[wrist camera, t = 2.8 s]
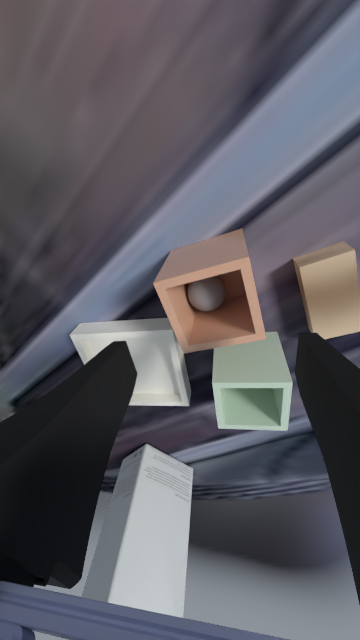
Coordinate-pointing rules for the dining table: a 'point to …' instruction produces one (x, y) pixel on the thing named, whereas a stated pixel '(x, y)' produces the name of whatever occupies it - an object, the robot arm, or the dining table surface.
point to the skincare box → (145, 536)
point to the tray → (142, 357)
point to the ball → (207, 293)
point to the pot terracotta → (238, 306)
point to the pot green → (252, 385)
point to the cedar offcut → (330, 290)
